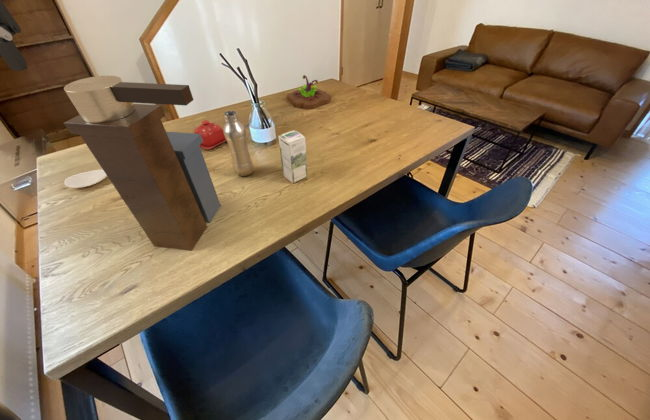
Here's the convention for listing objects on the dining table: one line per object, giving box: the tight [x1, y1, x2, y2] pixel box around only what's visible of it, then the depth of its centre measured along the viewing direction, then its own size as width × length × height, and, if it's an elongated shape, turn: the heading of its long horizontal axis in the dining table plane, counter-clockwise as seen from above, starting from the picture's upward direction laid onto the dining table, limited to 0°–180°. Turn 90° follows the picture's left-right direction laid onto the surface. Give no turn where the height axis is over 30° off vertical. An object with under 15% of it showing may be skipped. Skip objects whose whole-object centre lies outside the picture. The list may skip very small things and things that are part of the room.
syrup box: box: [277, 129, 308, 184], centre depth 83 cm, size 6×6×14 cm
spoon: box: [63, 168, 108, 189], centre depth 90 cm, size 9×32×4 cm, turn 122°
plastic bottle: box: [222, 110, 255, 177], centre depth 83 cm, size 6×7×20 cm
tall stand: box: [63, 103, 208, 251], centre depth 59 cm, size 9×12×32 cm
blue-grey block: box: [166, 131, 221, 224], centre depth 69 cm, size 8×12×22 cm, turn 82°
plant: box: [286, 74, 332, 110], centre depth 132 cm, size 20×20×11 cm
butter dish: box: [193, 119, 227, 150], centre depth 103 cm, size 12×12×8 cm
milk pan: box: [63, 75, 194, 123], centre depth 46 cm, size 8×20×5 cm, turn 82°
